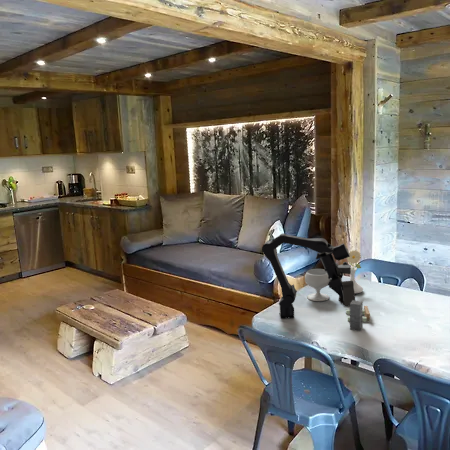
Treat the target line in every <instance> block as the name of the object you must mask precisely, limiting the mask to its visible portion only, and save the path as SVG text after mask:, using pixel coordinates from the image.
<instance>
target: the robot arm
mask: <svg viewBox="0 0 450 450" xmlns="http://www.w3.org/2000/svg"><path fill="white" fill-rule="evenodd" d="M282 244H287V245H293V246H298V247H304V248H307V249H310V250H312V251H314V252H317V253H316V256H315V260H319V259H320V261H321V263H322V265H323V268H324V270H325V271H326V272H327V274H328V279H330V278H331V279H330V280H329V281H328V286H327V287H328V288H329V289H332V291H333V292H335V293H336V294H337V295H338V297H339V296H340V297H343V292H342V290H344V289H343V276H344V275H346V274H347V275H350V274H351V267H352V265H350V264H349V262H348V261H343V262H342V264H338V263H337V262H336V261H342V260H345V259H347V258H348V257H350V254H349V253H350V251H349V248H348V247H347V246H346V244H345V243H344V242H343V243H341V244H339V245H336V246H334V245H332V244H330V243H328V240H326V239H325V238H323V237H321V238H320V237H319V238H317V237H315V238H314V237H313V238H307V237H302V236H297V235H290V234H286V233H281V234H279V235H278V236H277V237H274V238H273V239H271V240H267V241H265V242H264V244H262V247H261V251H262V253H263V255H264V257H265V258H266V259H267V260H268V261H269V262H270V265H271V267H272V269H273V271H274V273H275V276H276V279H277V281H278V283H279V286H280V288H281V289H280V290H281V295H282V296H281V298H280V300H279V302H278V305H279V313H278V314H279V317H280V319H281V320H282V319H294V318H295V317H294V316H295V307H294V305H293V303H294V302H295V300H296V297H297V292H298V291H297V290H296V288H295V284H294V283H293V284H290V281H289V280H288V277H287V276H286V274H285V270H284V269H283V266H282V264H281V261H280V260H279V257H278V256H279V255H278V249H277V248H278V247H280V246H282ZM335 260H336V261H335Z"/></svg>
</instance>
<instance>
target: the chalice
mask: <svg viewBox="0 0 450 450" xmlns="http://www.w3.org/2000/svg"><path fill="white" fill-rule="evenodd" d="M324 269H325V268H324ZM324 269H323V268H311V269H308V270H307V271H306V273H305V275H304V282H305V284H306V285H308V287H310V288H313V289H314V290H315V293H314V292H313V293H310V294H308V295H307V296H306V298H307V299H308V300H309V301H314V302H324V301H325V302H326V301H328V300H330V296H329V295H328V294H327V293H326V294H325V293H322V292H321V290H323V289H324V288H326V287H329V286H328V281H329V280H330V279H331V278H330V279H328V274H327V272H326V271H325V270H324Z"/></svg>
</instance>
